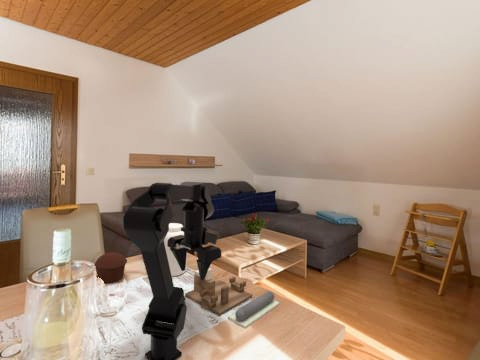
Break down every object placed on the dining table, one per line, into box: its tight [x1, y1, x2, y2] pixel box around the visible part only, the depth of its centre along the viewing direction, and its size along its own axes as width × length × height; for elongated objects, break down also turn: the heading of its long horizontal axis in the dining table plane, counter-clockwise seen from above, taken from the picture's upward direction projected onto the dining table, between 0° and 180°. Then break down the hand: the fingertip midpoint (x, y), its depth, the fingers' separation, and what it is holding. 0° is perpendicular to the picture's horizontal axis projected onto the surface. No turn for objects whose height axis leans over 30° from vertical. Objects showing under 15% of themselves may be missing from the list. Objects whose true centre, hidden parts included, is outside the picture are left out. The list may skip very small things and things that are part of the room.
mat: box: [227, 299, 280, 329], centre depth 86 cm, size 7×18×1 cm, turn 139°
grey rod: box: [235, 290, 275, 320], centre depth 85 cm, size 3×18×3 cm, turn 139°
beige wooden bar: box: [194, 267, 213, 280], centre depth 94 cm, size 7×2×3 cm, turn 49°
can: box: [164, 222, 188, 277], centre depth 113 cm, size 12×12×20 cm
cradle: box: [184, 274, 253, 317], centre depth 93 cm, size 17×16×6 cm
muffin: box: [94, 251, 128, 285], centre depth 104 cm, size 12×11×10 cm
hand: (192, 275), depth 80 cm, fingers open, 9 cm apart
